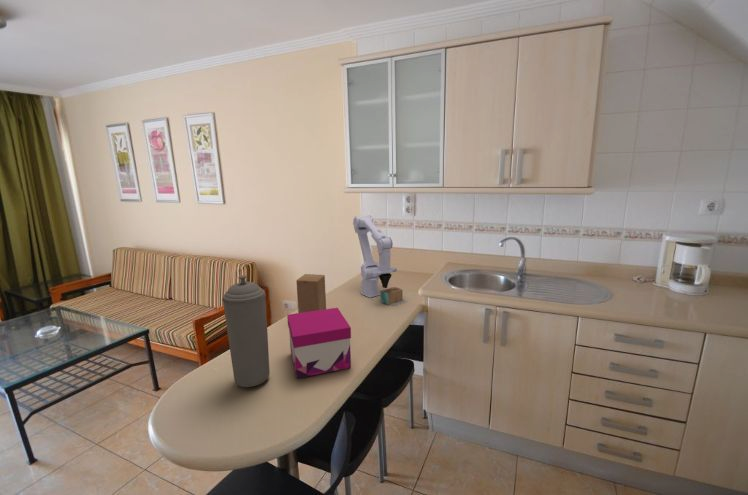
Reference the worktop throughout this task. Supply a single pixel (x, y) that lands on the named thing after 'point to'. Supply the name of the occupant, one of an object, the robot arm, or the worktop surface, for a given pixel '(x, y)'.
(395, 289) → the brown teal box
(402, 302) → the mat
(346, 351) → the decorative box
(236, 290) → the canister
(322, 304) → the wooden block
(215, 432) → the worktop surface
